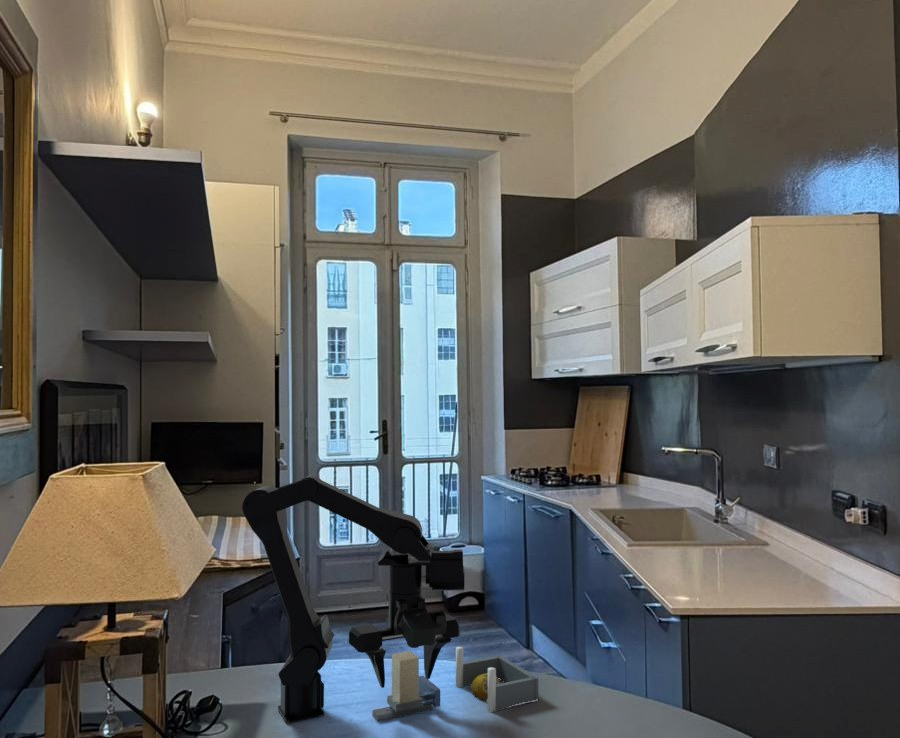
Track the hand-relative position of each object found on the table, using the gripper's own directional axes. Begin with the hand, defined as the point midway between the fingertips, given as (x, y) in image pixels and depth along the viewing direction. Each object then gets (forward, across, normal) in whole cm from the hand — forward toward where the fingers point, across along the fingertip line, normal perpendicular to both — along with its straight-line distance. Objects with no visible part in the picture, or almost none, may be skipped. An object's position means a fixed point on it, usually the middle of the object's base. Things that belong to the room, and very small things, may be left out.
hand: (405, 682), depth 120 cm
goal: (+5, +18, 0) cm, 19 cm away
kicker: (+4, +1, 0) cm, 4 cm away
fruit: (+6, +17, -2) cm, 18 cm away
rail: (+5, 0, 0) cm, 5 cm away
